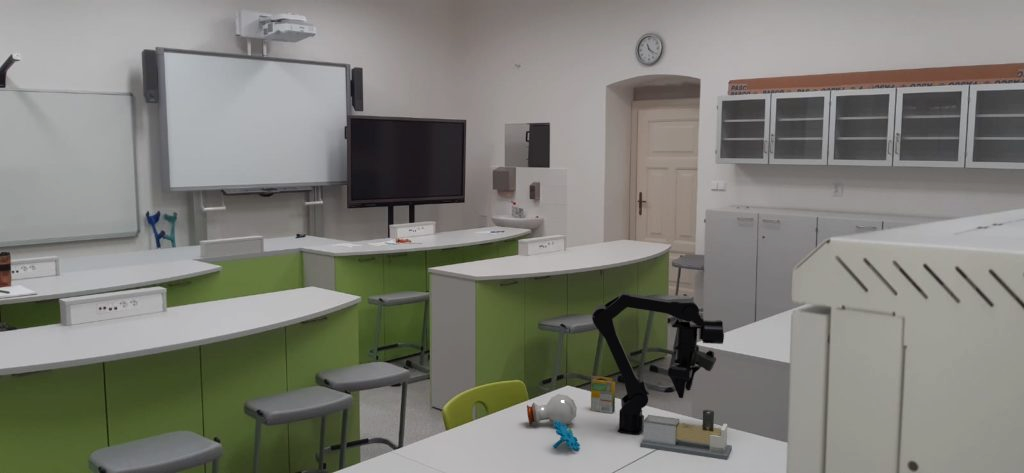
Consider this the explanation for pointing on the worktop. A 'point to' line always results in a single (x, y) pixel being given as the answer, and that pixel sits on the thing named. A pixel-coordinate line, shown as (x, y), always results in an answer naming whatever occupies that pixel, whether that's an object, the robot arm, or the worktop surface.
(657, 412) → the worktop surface
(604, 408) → the crayon box
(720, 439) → the socket
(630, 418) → the robot arm
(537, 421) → the potion bottle
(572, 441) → the gear
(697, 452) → the board
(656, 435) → the sleeve
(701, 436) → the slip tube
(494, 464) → the worktop surface
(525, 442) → the worktop surface
